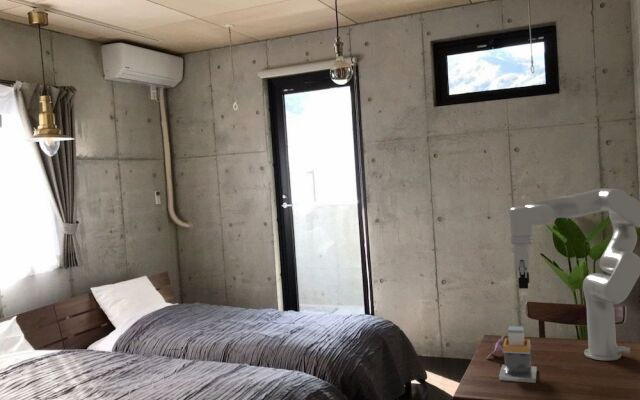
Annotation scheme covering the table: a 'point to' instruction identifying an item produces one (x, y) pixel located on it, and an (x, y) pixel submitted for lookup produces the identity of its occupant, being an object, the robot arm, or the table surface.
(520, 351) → the grey and orange container
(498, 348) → the lily
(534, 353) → the table surface
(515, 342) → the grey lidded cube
